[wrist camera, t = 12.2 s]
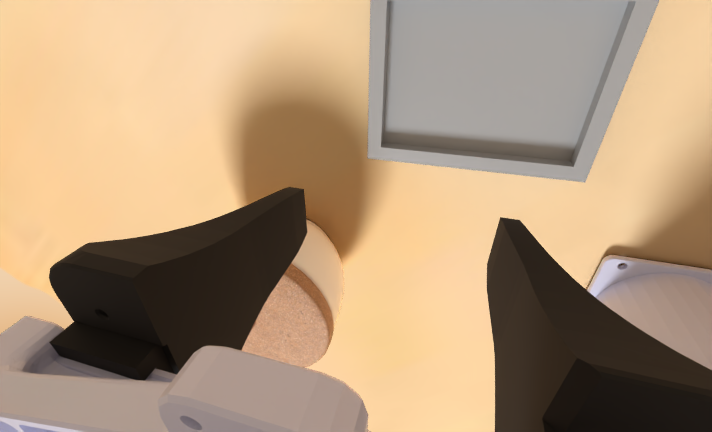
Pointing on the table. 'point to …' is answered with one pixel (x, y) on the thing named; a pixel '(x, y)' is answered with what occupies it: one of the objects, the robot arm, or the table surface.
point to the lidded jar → (301, 305)
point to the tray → (499, 81)
